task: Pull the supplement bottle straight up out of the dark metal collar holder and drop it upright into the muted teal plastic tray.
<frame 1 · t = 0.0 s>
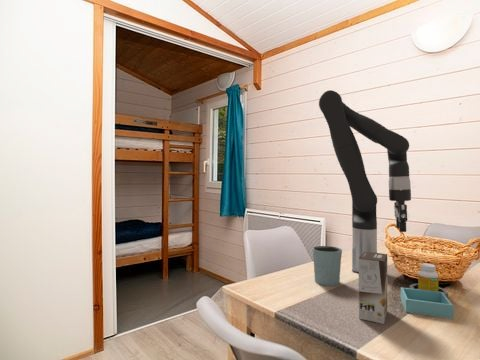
hand: (401, 230, 116), 17 cm above the table, tool pointing down, fingers open, 8 cm apart
holder: (428, 295, 94), on the table
coffee box: (373, 315, 81), on the table
supplement bottle: (428, 296, 94), resting in holder
teal cup: (327, 282, 107), on the table
tray: (424, 307, 85), on the table
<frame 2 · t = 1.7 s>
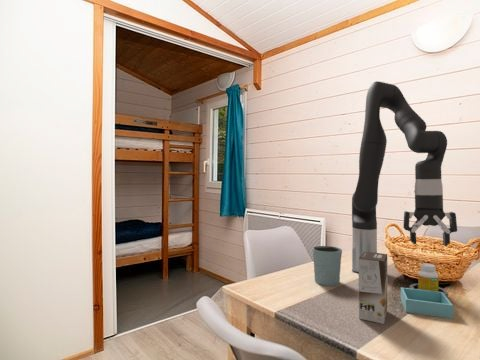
hand: (429, 244, 94), 16 cm above the table, tool pointing down, fingers open, 8 cm apart
nothing on the table moved.
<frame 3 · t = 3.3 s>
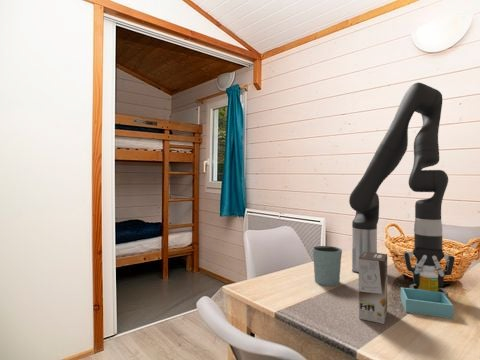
hand: (428, 286, 94), 3 cm above the table, tool pointing down, fingers closed on supplement bottle, 5 cm apart
supplement bottle: (428, 296, 94), resting in holder, touching gripper
everything else where it was.
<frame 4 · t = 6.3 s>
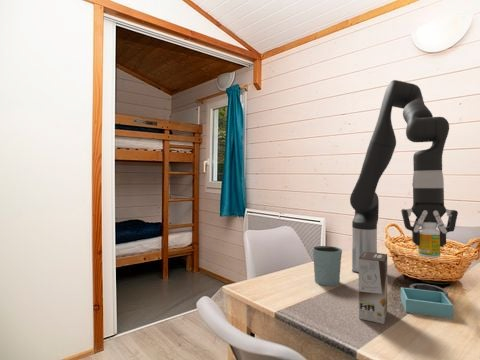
hand: (429, 245, 85), 18 cm above the table, tool pointing down, fingers closed on supplement bottle, 5 cm apart
supplement bottle: (429, 256, 85), point 15 cm above the table, touching gripper
everything else where it was.
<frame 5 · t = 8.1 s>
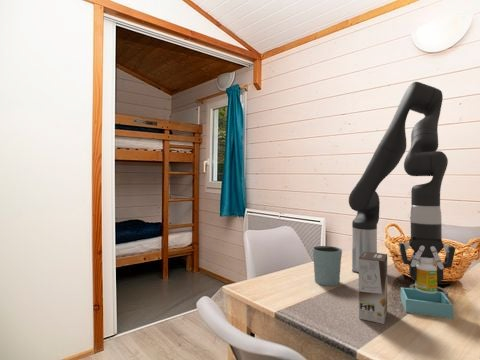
hand: (426, 280, 85), 8 cm above the table, tool pointing down, fingers closed on supplement bottle, 5 cm apart
supplement bottle: (426, 291, 85), point 5 cm above the table, touching gripper
everything else where it was.
when the fingers open (5 cm above the table, at t = 9.6 s): supplement bottle drops 1 cm, resting on tray.
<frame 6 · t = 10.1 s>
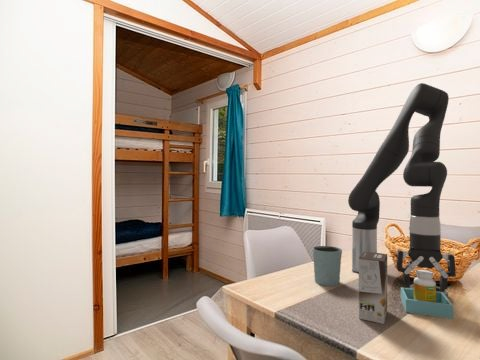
hand: (424, 288, 85), 6 cm above the table, tool pointing down, fingers open, 8 cm apart
supplement bottle: (424, 306, 85), resting on tray
everything else where it was.
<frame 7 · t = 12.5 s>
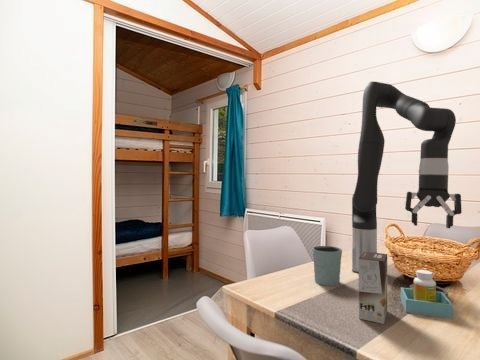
hand: (431, 226, 91), 22 cm above the table, tool pointing down, fingers open, 8 cm apart
nothing on the table moved.
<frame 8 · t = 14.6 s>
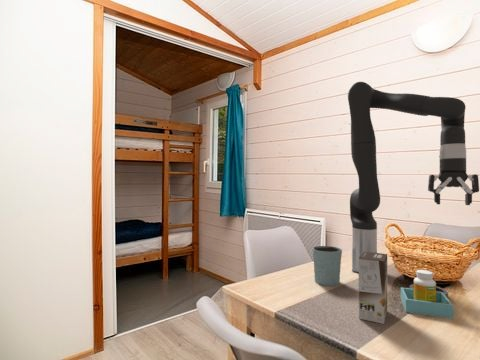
hand: (452, 204, 103), 28 cm above the table, tool pointing down, fingers open, 8 cm apart
nothing on the table moved.
at the end: supplement bottle 0.1 cm off-centre on the tray, point 0.4 cm above the tray's base; supplement bottle tilted 0°; the gripper is holding nothing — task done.
